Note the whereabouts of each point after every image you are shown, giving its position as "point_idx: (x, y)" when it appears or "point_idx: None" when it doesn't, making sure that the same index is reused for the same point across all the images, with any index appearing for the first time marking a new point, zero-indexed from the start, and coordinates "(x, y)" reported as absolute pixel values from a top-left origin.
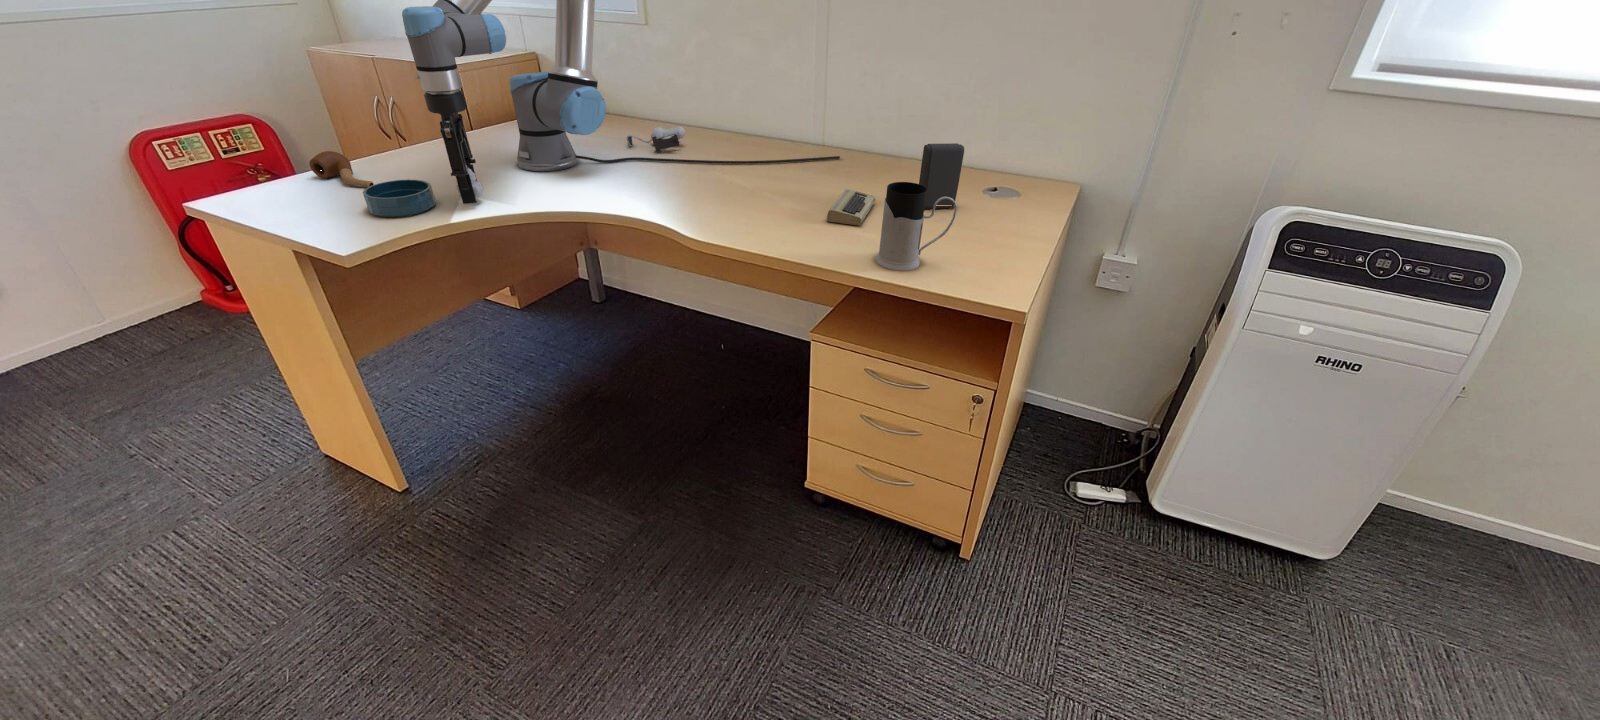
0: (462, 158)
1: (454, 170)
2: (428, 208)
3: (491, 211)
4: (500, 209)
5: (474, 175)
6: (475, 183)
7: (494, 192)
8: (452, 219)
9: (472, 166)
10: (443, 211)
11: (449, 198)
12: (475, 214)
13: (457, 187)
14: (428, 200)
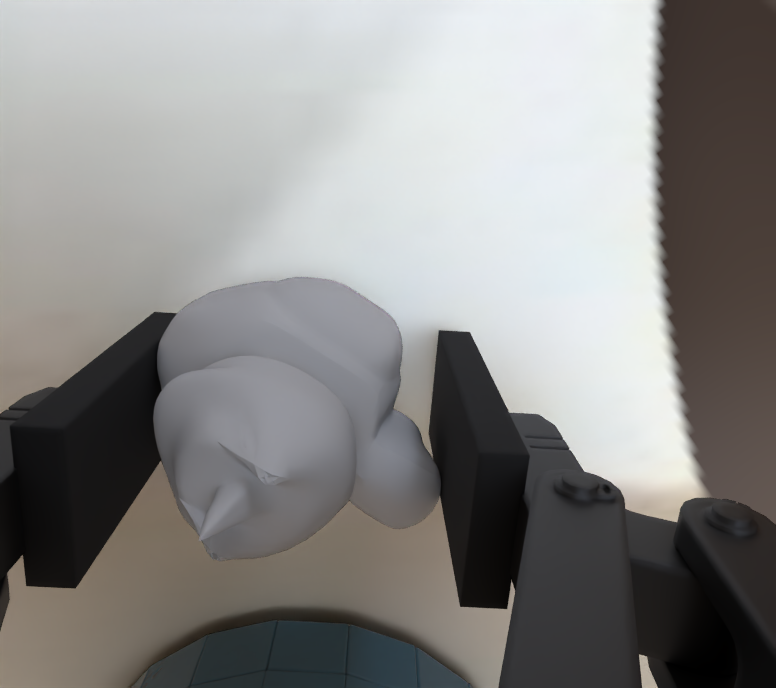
0: (629, 657)
1: (730, 670)
2: (423, 652)
3: (563, 204)
4: (534, 125)
5: (275, 378)
6: (319, 356)
7: (15, 187)
8: (650, 484)
9: (72, 423)
10: (444, 552)
11: (136, 534)
12: (595, 330)
13: (412, 523)
14: (405, 685)
